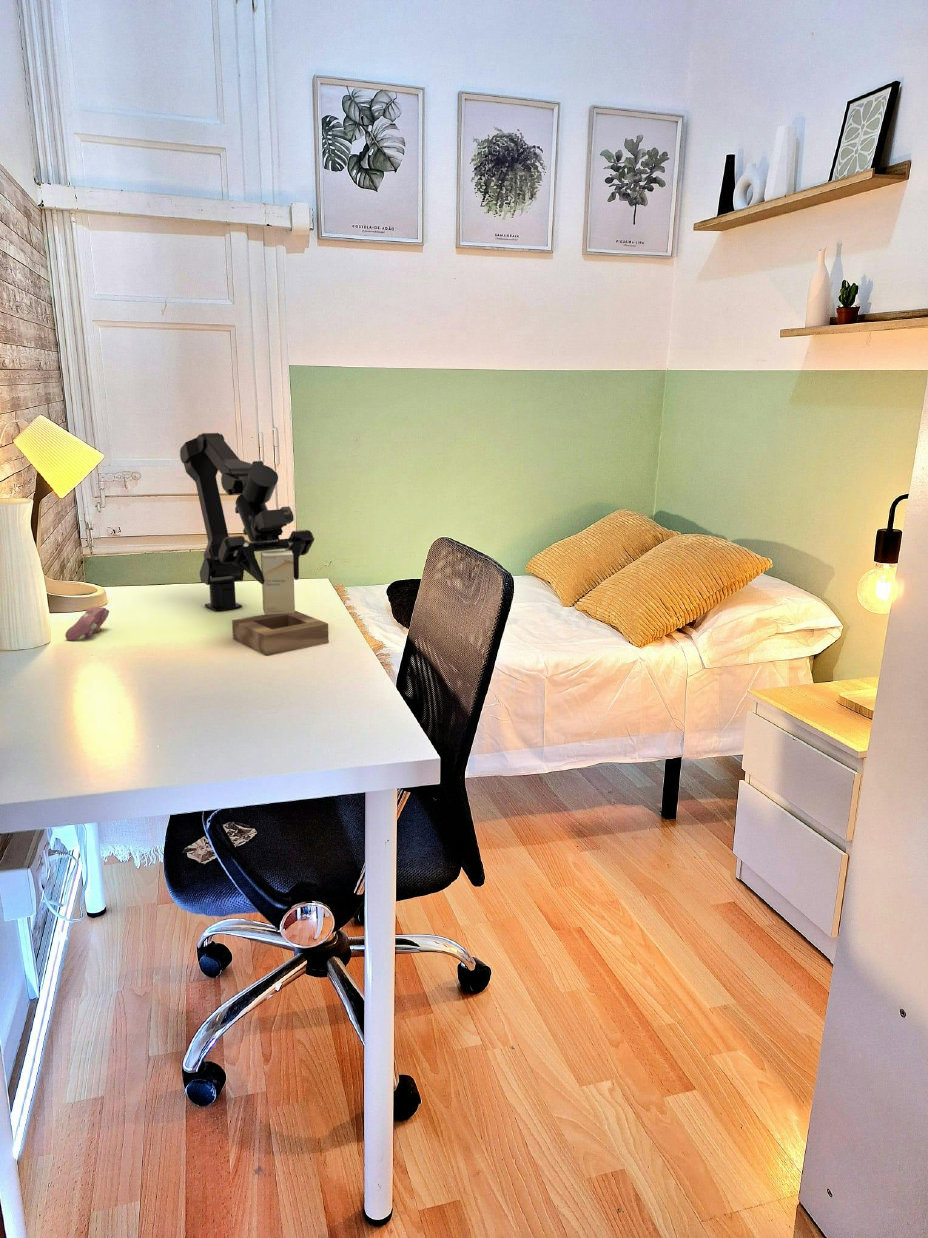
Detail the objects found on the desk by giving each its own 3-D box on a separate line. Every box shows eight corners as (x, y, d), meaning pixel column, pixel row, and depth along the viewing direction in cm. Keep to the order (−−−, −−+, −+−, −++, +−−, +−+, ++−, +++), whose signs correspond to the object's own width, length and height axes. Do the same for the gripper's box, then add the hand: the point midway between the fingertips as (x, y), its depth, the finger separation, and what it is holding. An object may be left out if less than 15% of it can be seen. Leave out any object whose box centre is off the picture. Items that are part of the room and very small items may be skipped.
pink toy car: (83, 649, 169) (95, 619, 167) (62, 638, 168) (74, 609, 167) (104, 635, 178) (116, 607, 177) (84, 625, 178) (95, 597, 176)
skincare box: (264, 615, 167) (260, 555, 163) (262, 609, 171) (259, 550, 167) (296, 613, 168) (293, 553, 165) (294, 607, 173) (291, 549, 169)
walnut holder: (233, 639, 172) (231, 620, 171) (293, 627, 181) (292, 609, 180) (266, 655, 162) (265, 635, 160) (328, 642, 170) (328, 623, 169)
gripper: (220, 496, 161) (245, 563, 155) (309, 490, 172) (335, 553, 166) (208, 530, 169) (231, 595, 164) (293, 523, 180) (318, 583, 174)
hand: (280, 580), depth 167 cm, fingers closed on skincare box, 7 cm apart
